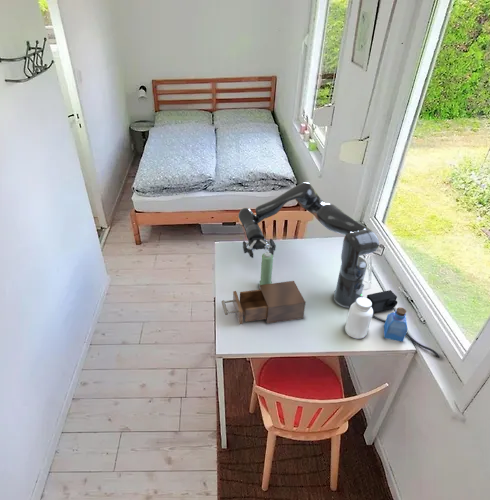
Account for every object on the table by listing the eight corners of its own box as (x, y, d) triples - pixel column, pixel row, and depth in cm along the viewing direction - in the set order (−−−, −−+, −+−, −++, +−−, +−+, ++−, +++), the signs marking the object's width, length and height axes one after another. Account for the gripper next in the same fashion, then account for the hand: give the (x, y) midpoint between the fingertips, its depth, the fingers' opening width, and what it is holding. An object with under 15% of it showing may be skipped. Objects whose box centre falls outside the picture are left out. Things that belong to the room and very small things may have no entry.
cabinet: (267, 323, 148) (268, 307, 143) (258, 300, 159) (259, 285, 154) (303, 318, 150) (305, 302, 145) (291, 296, 160) (293, 280, 155)
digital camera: (371, 316, 149) (375, 303, 145) (363, 307, 153) (367, 294, 149) (394, 311, 151) (399, 298, 147) (386, 302, 155) (390, 289, 151)
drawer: (226, 326, 146) (226, 313, 142) (220, 305, 156) (220, 292, 152) (273, 319, 148) (274, 307, 144) (264, 299, 158) (265, 286, 154)
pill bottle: (367, 327, 145) (376, 297, 136) (365, 342, 139) (374, 312, 130) (346, 321, 148) (353, 292, 139) (343, 335, 142) (350, 306, 133)
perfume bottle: (401, 329, 143) (410, 306, 136) (402, 341, 138) (411, 318, 131) (383, 326, 145) (391, 302, 138) (384, 337, 140) (392, 314, 133)
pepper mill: (273, 287, 165) (276, 254, 155) (265, 293, 162) (268, 259, 152) (264, 281, 168) (267, 248, 158) (256, 287, 166) (258, 253, 155)
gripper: (239, 229, 176) (246, 249, 163) (270, 227, 177) (279, 247, 164) (239, 243, 180) (246, 263, 167) (269, 240, 181) (277, 260, 168)
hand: (262, 255), depth 166 cm, fingers open, 8 cm apart
